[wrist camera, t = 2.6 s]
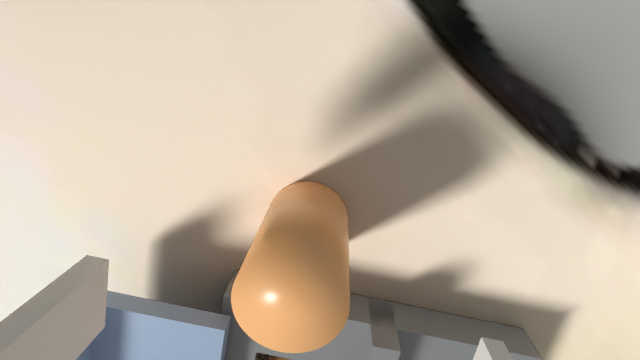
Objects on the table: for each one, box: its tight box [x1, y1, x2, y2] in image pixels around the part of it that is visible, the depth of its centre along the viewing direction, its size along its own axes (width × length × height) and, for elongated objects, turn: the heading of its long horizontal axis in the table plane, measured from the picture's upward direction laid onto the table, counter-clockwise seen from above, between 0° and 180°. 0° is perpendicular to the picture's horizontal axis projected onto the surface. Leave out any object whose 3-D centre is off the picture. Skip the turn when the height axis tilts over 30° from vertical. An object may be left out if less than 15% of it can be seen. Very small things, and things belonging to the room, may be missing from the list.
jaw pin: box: [231, 181, 350, 353], centre depth 19 cm, size 4×4×8 cm
